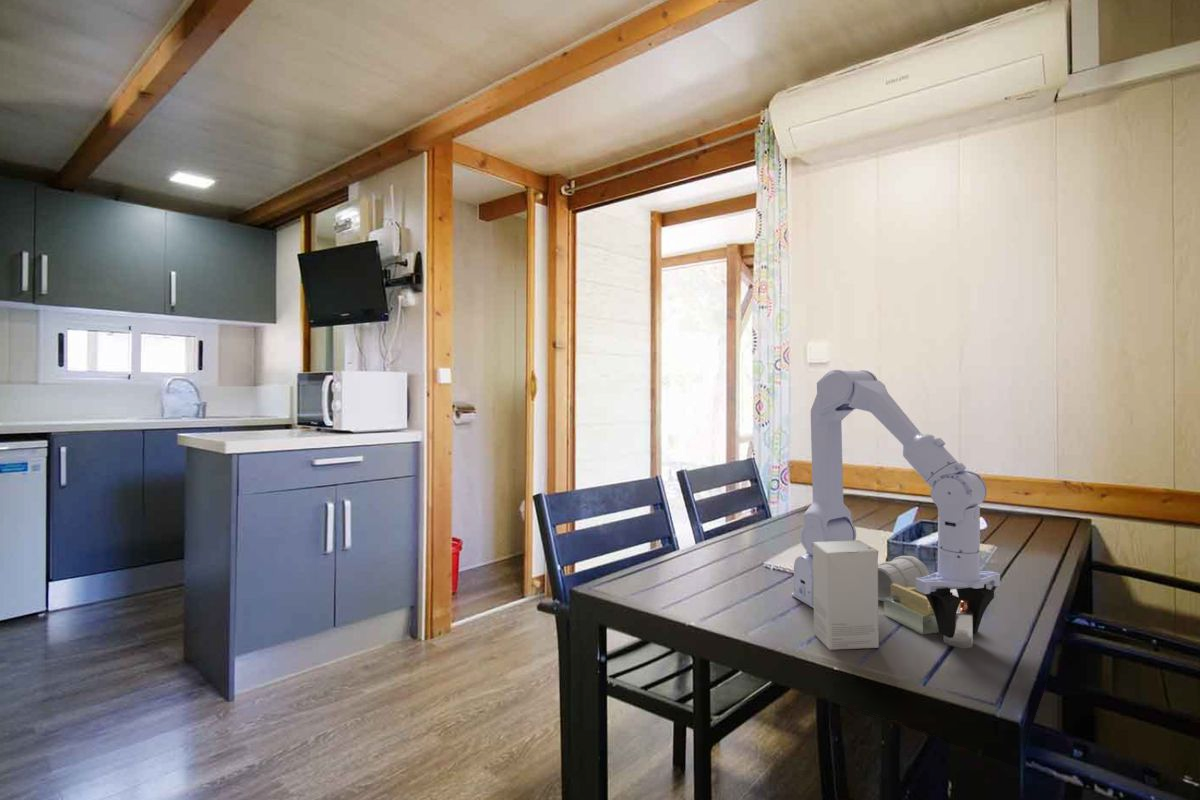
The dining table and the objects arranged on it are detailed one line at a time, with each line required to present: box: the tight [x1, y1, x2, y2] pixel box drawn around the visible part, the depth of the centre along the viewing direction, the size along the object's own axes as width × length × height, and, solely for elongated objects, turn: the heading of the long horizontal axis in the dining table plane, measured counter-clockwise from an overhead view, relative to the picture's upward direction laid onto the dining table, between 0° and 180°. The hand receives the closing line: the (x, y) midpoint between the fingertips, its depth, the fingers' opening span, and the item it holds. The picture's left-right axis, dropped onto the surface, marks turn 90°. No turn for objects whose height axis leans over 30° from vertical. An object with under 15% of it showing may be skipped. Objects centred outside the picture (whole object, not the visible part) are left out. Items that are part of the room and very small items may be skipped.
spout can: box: [942, 600, 974, 649], centre depth 95 cm, size 4×4×6 cm
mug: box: [878, 555, 930, 602], centre depth 116 cm, size 8×12×12 cm
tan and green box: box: [883, 583, 960, 635], centre depth 104 cm, size 10×9×6 cm
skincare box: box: [813, 539, 880, 651], centre depth 95 cm, size 8×7×16 cm
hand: (957, 633), depth 95 cm, fingers closed on spout can, 4 cm apart
